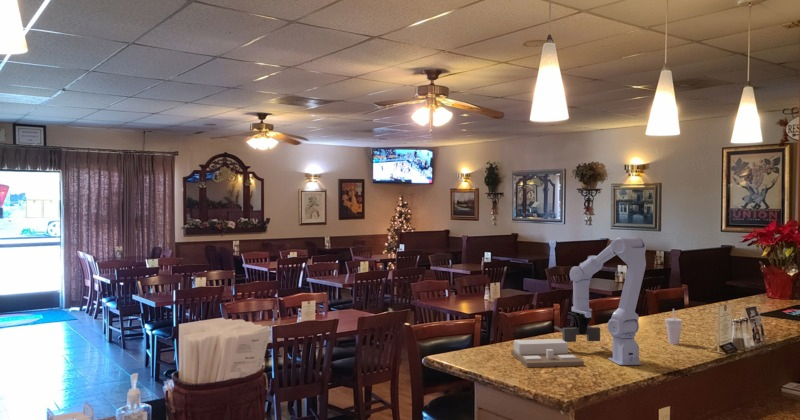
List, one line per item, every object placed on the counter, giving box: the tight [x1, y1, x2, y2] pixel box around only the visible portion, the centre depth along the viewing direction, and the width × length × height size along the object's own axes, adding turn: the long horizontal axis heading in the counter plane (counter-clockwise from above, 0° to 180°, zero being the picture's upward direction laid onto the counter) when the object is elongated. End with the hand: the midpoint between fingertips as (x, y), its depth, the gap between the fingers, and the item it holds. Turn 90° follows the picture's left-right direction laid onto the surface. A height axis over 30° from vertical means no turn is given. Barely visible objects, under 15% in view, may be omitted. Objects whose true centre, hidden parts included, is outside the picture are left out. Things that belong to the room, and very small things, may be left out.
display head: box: [510, 338, 585, 368], centre depth 216 cm, size 20×20×5 cm
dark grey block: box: [553, 324, 601, 343], centre depth 234 cm, size 11×14×5 cm
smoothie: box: [664, 308, 683, 346], centre depth 240 cm, size 6×6×14 cm
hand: (581, 333), depth 229 cm, fingers closed on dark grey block
